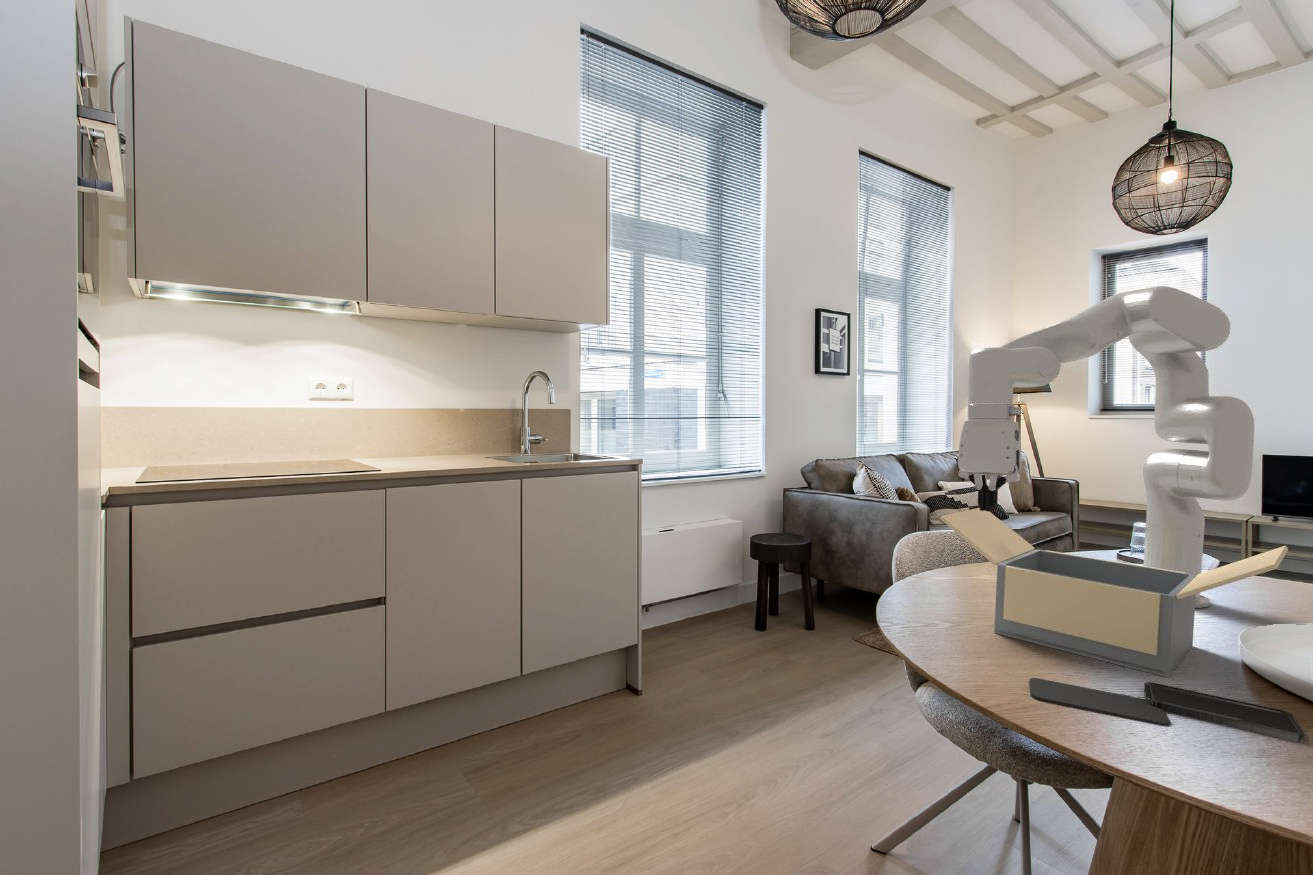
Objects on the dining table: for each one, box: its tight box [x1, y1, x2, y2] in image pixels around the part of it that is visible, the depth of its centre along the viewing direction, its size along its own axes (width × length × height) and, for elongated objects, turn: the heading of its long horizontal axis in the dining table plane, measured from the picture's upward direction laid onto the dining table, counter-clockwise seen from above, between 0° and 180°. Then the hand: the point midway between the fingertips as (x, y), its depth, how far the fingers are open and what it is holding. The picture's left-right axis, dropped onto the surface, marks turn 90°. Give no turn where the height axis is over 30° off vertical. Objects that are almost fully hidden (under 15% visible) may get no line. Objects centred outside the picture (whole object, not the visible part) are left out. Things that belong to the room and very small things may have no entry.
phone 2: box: [1143, 681, 1305, 743], centre depth 83 cm, size 8×1×15 cm
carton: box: [993, 548, 1197, 679], centre depth 109 cm, size 21×24×12 cm
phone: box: [1028, 677, 1171, 727], centre depth 85 cm, size 7×1×15 cm
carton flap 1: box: [939, 507, 1036, 566], centre depth 121 cm, size 20×12×1 cm
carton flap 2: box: [1176, 545, 1289, 599], centre depth 96 cm, size 20×12×1 cm
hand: (987, 510), depth 122 cm, fingers closed
